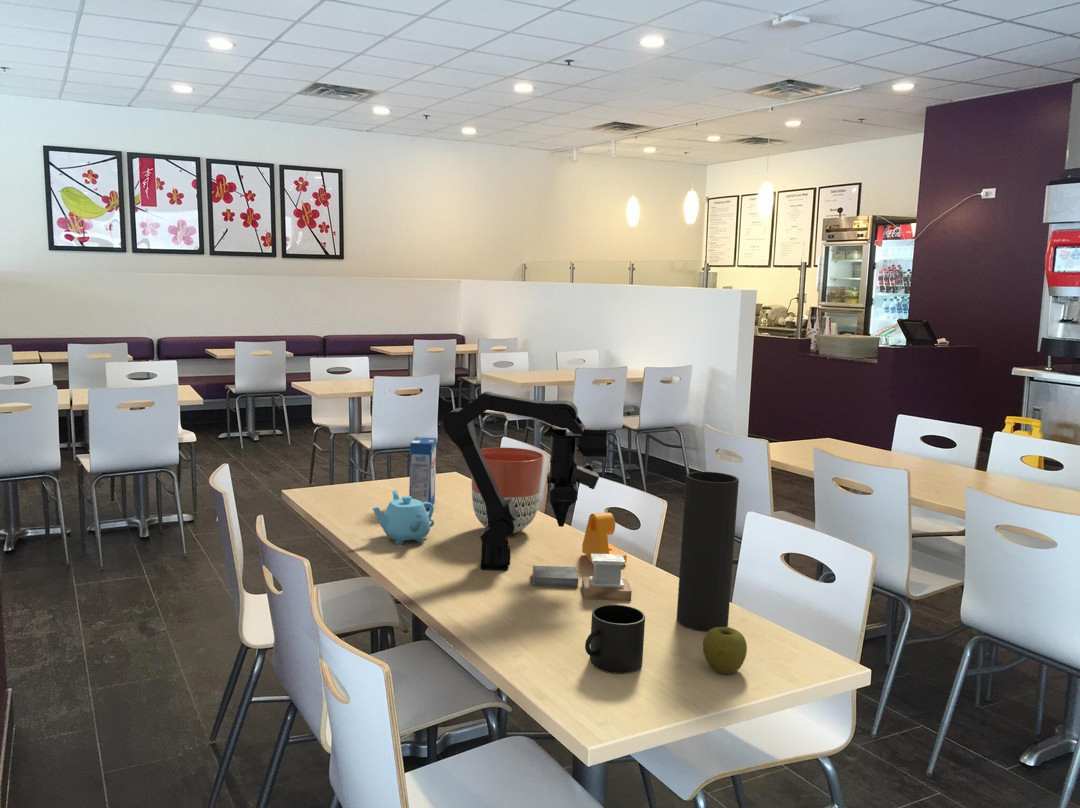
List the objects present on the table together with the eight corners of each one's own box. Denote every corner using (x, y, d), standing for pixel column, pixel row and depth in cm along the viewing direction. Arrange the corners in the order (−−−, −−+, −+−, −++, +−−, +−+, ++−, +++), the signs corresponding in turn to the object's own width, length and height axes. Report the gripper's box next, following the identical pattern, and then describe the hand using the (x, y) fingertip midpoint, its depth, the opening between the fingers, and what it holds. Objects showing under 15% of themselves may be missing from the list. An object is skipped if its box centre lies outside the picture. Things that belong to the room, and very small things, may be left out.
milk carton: (430, 510, 248) (431, 443, 245) (408, 510, 248) (410, 442, 245) (434, 502, 258) (436, 437, 255) (414, 501, 258) (415, 437, 255)
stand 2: (584, 598, 182) (585, 589, 182) (582, 585, 190) (582, 577, 190) (631, 600, 182) (631, 591, 182) (626, 587, 190) (626, 578, 190)
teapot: (365, 542, 216) (366, 498, 214) (392, 528, 228) (393, 487, 227) (419, 550, 211) (420, 506, 209) (443, 536, 223) (444, 494, 222)
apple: (738, 660, 154) (741, 623, 153) (750, 680, 146) (753, 641, 145) (697, 659, 154) (699, 622, 153) (707, 679, 146) (710, 640, 145)
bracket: (627, 566, 206) (630, 517, 204) (600, 568, 203) (603, 519, 201) (607, 552, 215) (610, 506, 214) (582, 555, 213) (584, 508, 211)
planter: (554, 536, 228) (558, 457, 225) (492, 546, 217) (495, 463, 214) (515, 518, 244) (517, 445, 241) (455, 527, 232) (457, 450, 230)
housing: (591, 587, 183) (592, 560, 183) (589, 579, 188) (590, 553, 188) (623, 588, 184) (625, 561, 183) (620, 580, 189) (622, 554, 188)
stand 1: (533, 585, 189) (533, 577, 188) (532, 573, 197) (532, 565, 196) (577, 587, 189) (578, 578, 189) (575, 575, 197) (575, 566, 197)
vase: (666, 618, 173) (675, 474, 169) (700, 608, 179) (710, 469, 175) (703, 635, 165) (714, 485, 161) (738, 625, 171) (749, 479, 167)
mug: (567, 662, 151) (569, 613, 149) (617, 647, 158) (620, 600, 157) (602, 682, 143) (604, 631, 142) (653, 666, 150) (656, 617, 149)
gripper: (601, 465, 187) (598, 533, 189) (594, 449, 206) (590, 511, 208) (551, 463, 187) (548, 531, 189) (548, 447, 205) (545, 510, 207)
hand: (560, 521), depth 198 cm, fingers open, 9 cm apart
